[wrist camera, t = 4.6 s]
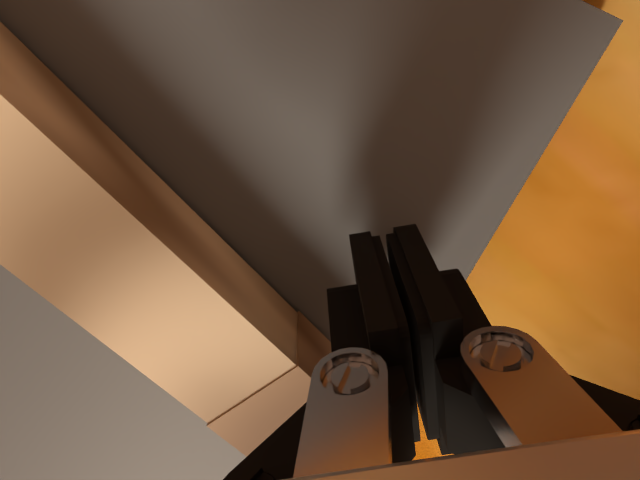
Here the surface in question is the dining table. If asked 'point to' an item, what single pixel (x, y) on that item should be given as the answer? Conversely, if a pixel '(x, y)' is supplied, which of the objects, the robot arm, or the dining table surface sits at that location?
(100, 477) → the charcoal board
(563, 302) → the dining table surface
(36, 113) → the beech link
